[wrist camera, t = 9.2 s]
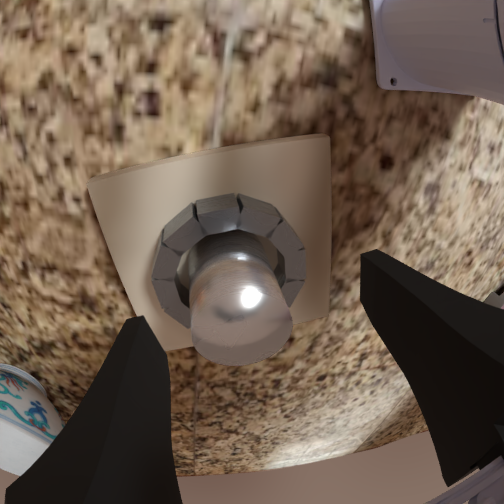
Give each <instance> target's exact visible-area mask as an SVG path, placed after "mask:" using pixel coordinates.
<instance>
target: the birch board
mask: <svg viewBox="0 0 504 504" xmlns="http://www.w3.org/2000/svg"><path fill="white" fill-rule="evenodd" d="M86 185H87V188H88V191H89V194H90V197H91V200H92V203H93V206H94V209H95V212H96V215H97V218H98V221H99V224H100V227H101V229H102V232H103V235H104V238H105V240H106V243H107V246H108V248H109V251H110V253H111V256H112V259H113V261H114V264H115V266H116V269H117V271H118V274H119V276H120V278H121V281H122V283H123V286H124V288H125V290H126V293H127V295H128V297H129V300H130V302H131V304H132V306H133V309H134V311H135V313H136V315H137V317H138V316H142V315H144V317H145V319H146V321H147V322H148V324H149V326H150V327H151V329H152V331H153V333H154V334H155V336H156V338H157V339H158V341H159V343H160V344H161V346H162V348H163V349H164V351H170V350H176V349H181V348H187V347H193V346H194V345H193V342H192V337H191V328H189V329H187V328H186V327H184V326H183V325H182V324H180V323H179V322H177V321H176V320H175V319H173V318H172V317H171V316H169V315H168V314H167V313H165V312H164V308H163V309H162V308H161V305H160V303H159V300H158V298H157V295H156V292H155V290H154V287H153V284H152V282H151V279H152V277H151V274H152V265H153V258H154V255H155V251H156V248H157V244H158V241H159V238H160V235H161V231H162V229H164V226H165V225H166V224H167V223H168V222H169V221H170V220H171V219H173V218H174V217H175V216H176V215H177V214H178V213H180V212H181V211H182V210H183V209H184V208H186V207H187V206H188V205H189V204H190V203H191V202H192V203H193V204H194V205H195V206H196V207H197V205H196V200H199V199H204V198H209V197H214V196H219V195H224V194H230V193H234V195H235V198H236V197H237V195H238V193H240V194H243V195H246V196H249V197H252V198H255V199H258V200H261V201H264V202H267V203H270V204H272V205H273V207H276V208H277V209H278V210H279V212H280V213H281V214H282V215H283V217H284V218H285V219H286V220H287V222H288V223H289V224H290V226H291V227H292V228H293V229H294V231H295V232H296V234H297V235H298V237H299V238H300V240H301V242H302V243H303V245H304V248H305V252H306V279H304V281H305V283H304V285H303V287H302V288H301V290H300V292H299V293H298V295H297V297H296V298H295V300H294V302H293V303H292V305H291V307H290V308H289V307H288V309H289V311H290V313H291V316H292V320H293V325H295V324H299V323H303V322H307V321H311V320H315V319H319V318H323V317H326V316H329V303H330V279H331V238H332V191H331V150H330V137H329V136H327V135H326V134H324V133H319V134H309V135H301V136H293V137H285V138H277V139H270V140H263V141H256V142H250V143H244V144H238V145H232V146H226V147H220V148H215V149H210V150H204V151H199V152H194V153H189V154H184V155H180V156H175V157H171V158H166V159H162V160H157V161H153V162H149V163H145V164H140V165H136V166H132V167H128V168H125V169H121V170H117V171H113V172H110V173H106V174H102V175H99V176H95V177H92V178H90V180H89V181H88V182H87V184H86ZM253 234H254V233H253ZM254 235H256V236H257V238H258V239H259V240H260V242H261V243H262V246H263V248H264V250H265V253H266V255H267V258H268V260H269V262H270V265H271V267H272V270H273V271H274V270H275V268H276V266H277V264H278V258H277V248H276V247H275V246H274V244H273V243H272V242H271V241H270V240H269V239H268V238H267V237H264V236H261V235H257V234H254ZM190 249H191V248H190ZM190 249H189V250H187V251H186V252H185V253H184V254H183V255H182V257H181V260H180V263H179V266H178V269H177V273H178V276H179V279H180V282H181V284H182V285H184V286H185V287H186V288H187V289H188V290H189V277H188V256H189V252H190Z"/></svg>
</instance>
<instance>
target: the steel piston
mask: <svg viewBox="0 0 504 504" xmlns="http://www.w3.org/2000/svg"><path fill="white" fill-rule="evenodd" d="M188 277H189V302H190V322H191V337H192V342H193V345H194V347H195V349H196V350H197V351H198V352H199V353H200V354H201V355H202V356H203V357H204V358H206V359H208V360H210V361H212V362H214V363H217V364H221V365H227V366H242V365H249V364H253V363H256V362H259V361H262V360H264V359H266V358H268V357H270V356H272V355H273V354H275V353H276V352H277V351H279V350H280V349H281V348H282V347H283V346H284V345H285V343H286V342H287V340H288V339H289V337H290V335H291V332H292V327H293V320H292V316H291V313H290V311H289V309H288V306H287V304H286V301H285V299H284V296H283V294H282V292H281V289H280V287H279V284H278V282H277V279H276V277H275V275H274V272H273V270H272V267H271V265H270V262H269V260H268V258H267V255H266V253H265V250H264V248H263V246H262V243H261V242H260V240H259V239H258V238H257V236H256V235H254V234H253V233H250V232H247V231H244V230H240V229H236V230H231V231H226V232H221V233H216V234H211V235H206V236H205V237H204V238H202V239H201V240H200V241H199V242H197V243H196V244H195V245H194V246H192V247H191V249H190V252H189V256H188Z"/></svg>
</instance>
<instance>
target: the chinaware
mask: <svg viewBox="0 0 504 504" xmlns="http://www.w3.org/2000/svg"><path fill="white" fill-rule="evenodd" d="M65 425H66V424H65V422H64V420H63V418H62V417H61V415H60V414H59V412H58V411H57V409H56V408H55V407H54V405H53V404H52V403H51V402H50V401H49V400H48V398H47V394H46V391H45V389H44V387H43V386H42V385H41V384H40V383H39V382H38V381H37V380H36V379H35V378H34V377H33V376H31V375H30V374H28V373H27V372H25V371H23V370H21V369H19V368H17V367H15V366H12V365H9V364H3V363H0V468H1V469H3V470H5V471H8V472H10V473H13V474H16V475H19V476H21V475H22V474H23V473H24V472H25V471H26V470H27V469H29V468H30V467H31V465H32V464H33V463H34V462H35V461H36V460H37V459H38V458H39V457H40V456H41V455H42V454H43V453H44V451H45V450H46V449H47V448H48V447H49V446H50V444H51V443H52V442H53V440H54V439H55V438H56V437H57V435H58V434H59V433H60V431H61V430H62V429H63V428H64V426H65Z"/></svg>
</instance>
